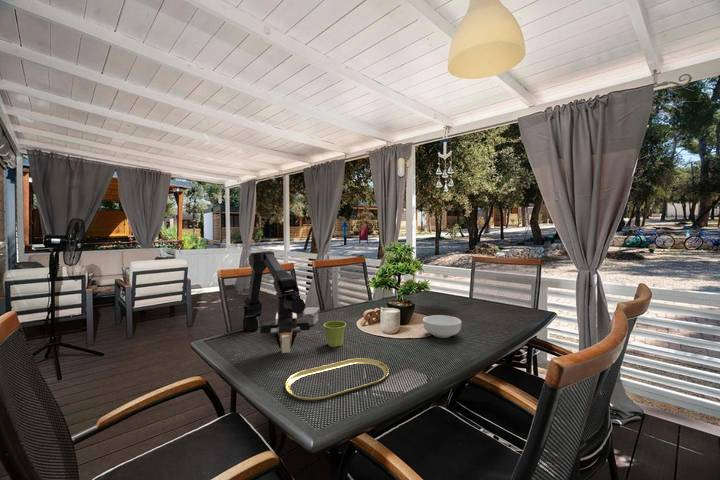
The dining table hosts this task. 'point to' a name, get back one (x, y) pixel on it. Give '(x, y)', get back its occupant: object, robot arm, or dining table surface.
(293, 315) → the white open box
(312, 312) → the decorative stone
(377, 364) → the serving platter
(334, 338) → the plant pot
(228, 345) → the dining table surface
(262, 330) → the robot arm
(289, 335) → the cream and brown mallet
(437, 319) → the cereal bowl
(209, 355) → the dining table surface
